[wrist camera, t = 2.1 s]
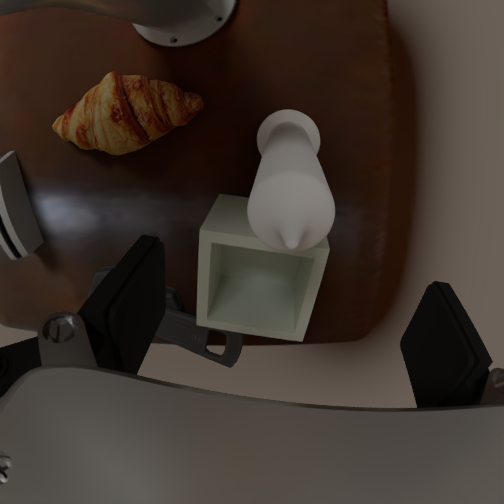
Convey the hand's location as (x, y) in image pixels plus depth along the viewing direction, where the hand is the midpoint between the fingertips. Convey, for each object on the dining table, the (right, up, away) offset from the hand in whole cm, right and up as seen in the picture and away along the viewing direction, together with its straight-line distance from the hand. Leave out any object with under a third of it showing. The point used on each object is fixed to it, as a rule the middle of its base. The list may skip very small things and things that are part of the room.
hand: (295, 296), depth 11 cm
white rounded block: (-38, +10, +32) cm, 51 cm away
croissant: (-17, +19, +24) cm, 35 cm away
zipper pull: (-14, -6, +38) cm, 41 cm away
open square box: (0, +2, +31) cm, 31 cm away
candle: (+3, +14, +24) cm, 28 cm away
